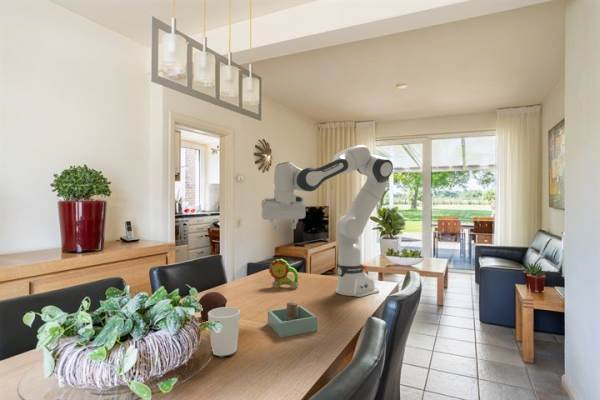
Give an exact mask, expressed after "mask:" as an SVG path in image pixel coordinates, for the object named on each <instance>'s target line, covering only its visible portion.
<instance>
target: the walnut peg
mask: <svg viewBox="0 0 600 400" xmlns="http://www.w3.org/2000/svg"><path fill="white" fill-rule="evenodd" d="M298 304H299V303H298V302H295V301H292V302H287V303H286V308H287V321H290V320H296V319H297V308H298V306H299V305H298Z"/></svg>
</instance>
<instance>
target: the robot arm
mask: <svg viewBox="0 0 600 400" xmlns="http://www.w3.org/2000/svg"><path fill="white" fill-rule="evenodd" d="M393 165H394V164H393V162H392V161H391V160H390V159H389V158H387V157H384V156H380V155H377V154H371V152H370V149H369V148H368V147H367V146H366V145H365V144H357V145H354V146H351V147H348V148H345V149H343V150H340V151H338V152H337V153H336V154H335V155H333V156H332V159H331V161H330V162H328V163H326V164H324V165H321V166H319V167H307V168H303V169H302V168H299V167H298V166H296V165H295V164H294V163H292V162H291V161H285V162H282V163H278V164H277V165H276V166H275V167H274V172H273V174H274V175H273V184H274V191H273V198H269V197H267V198H264V199H263V200H262V201H261V208H262V209H261V219H262V220H269V223H270V226H271V230H274V231H276V230H277V225H275V224H274V223H275V220H293V221H294V222H293V224H291V225H290V226H291V227H290V228H291V229H292V230H296V228H297V224H298V222H299V219H301V220H302V219H305V218H306V214H307V213H306V205H305V204H304V201H305V198H304V197H303V196H300V195H296V194H295V193H294V191H299V192H314V191H316V190H318V188H319V187H320V186H321V185H322V184H323V183H324V182H325V181H326V180H329V179H330V178H331V179H332V178H333V177H336V176H337V175H346V174H349V173H351V172H353V171H357V172H358V173H359V174H361V175H364V176H366V181H365V183H364V184H363V186H361V188H360V190H359V192H358V193H357V194H356V195H355V198H354V199H353V201H352V203H351V205H350V207H349V210H348V211H347V213H346V215H342V216H340V217H339V218H338V220H337V222H336V236H337V246H338V263H337V275H338V276H337V282H336V283H337V284H336V288H335V293H336V294H339V295H342V296H349V297H350V296H351V297H352V296H353V297H359V298H360V297H365V296H369V295H373V294H377V293H379V292H380V289H379V288H378V287H376V286H375V281H374V279H373V278H372V277H371V276H370V275H369V274H368V273H366V272H365V271H366V270H367V269H368V265H365V264H361V246H360V240H359V237H360V236H361V235H362V234H363V233H364V230H365V228H366V226H367V223H368V221H369V219H370V217H371V215H372V213H373V212H374V210H375V208H376V207H377V206H378V204H379V202H380V201H381V199H382V197H383V195H384V193H385V192H386V190H387V189H386V188H387V186H388V179H390V177H391V175H392V172H393V167H394V166H393ZM364 270H365V271H364Z"/></svg>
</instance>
